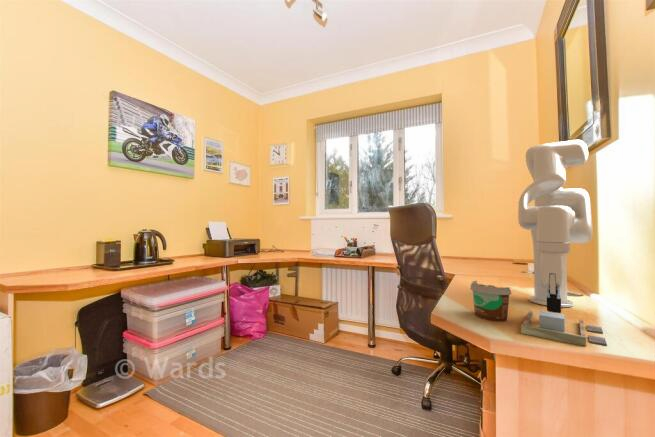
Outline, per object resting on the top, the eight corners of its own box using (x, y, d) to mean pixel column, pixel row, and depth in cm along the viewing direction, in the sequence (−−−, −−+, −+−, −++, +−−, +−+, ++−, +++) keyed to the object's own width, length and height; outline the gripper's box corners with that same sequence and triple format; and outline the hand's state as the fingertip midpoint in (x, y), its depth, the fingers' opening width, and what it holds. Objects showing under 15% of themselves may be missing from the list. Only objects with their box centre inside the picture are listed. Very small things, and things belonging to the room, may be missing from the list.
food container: (461, 313, 93) (461, 281, 93) (475, 310, 95) (474, 280, 96) (497, 324, 82) (496, 289, 82) (511, 322, 84) (511, 287, 84)
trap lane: (529, 315, 91) (529, 308, 91) (600, 326, 80) (600, 319, 80) (521, 333, 75) (521, 325, 75) (608, 350, 65) (608, 341, 65)
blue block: (541, 329, 78) (540, 310, 79) (564, 333, 75) (564, 314, 75) (539, 334, 75) (539, 314, 75) (564, 339, 71) (564, 319, 72)
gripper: (538, 245, 92) (540, 303, 92) (534, 249, 80) (535, 315, 80) (569, 246, 87) (570, 307, 87) (569, 251, 76) (571, 321, 75)
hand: (554, 311), depth 84 cm, fingers closed
